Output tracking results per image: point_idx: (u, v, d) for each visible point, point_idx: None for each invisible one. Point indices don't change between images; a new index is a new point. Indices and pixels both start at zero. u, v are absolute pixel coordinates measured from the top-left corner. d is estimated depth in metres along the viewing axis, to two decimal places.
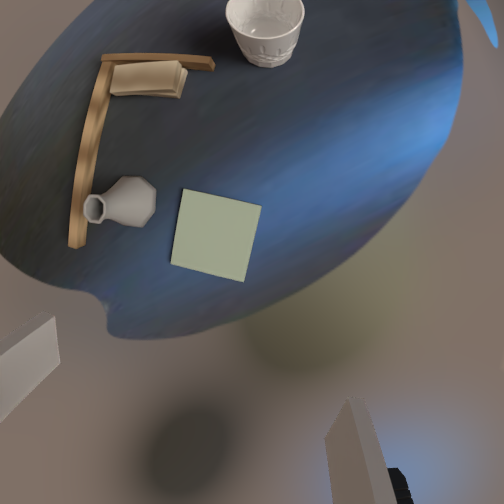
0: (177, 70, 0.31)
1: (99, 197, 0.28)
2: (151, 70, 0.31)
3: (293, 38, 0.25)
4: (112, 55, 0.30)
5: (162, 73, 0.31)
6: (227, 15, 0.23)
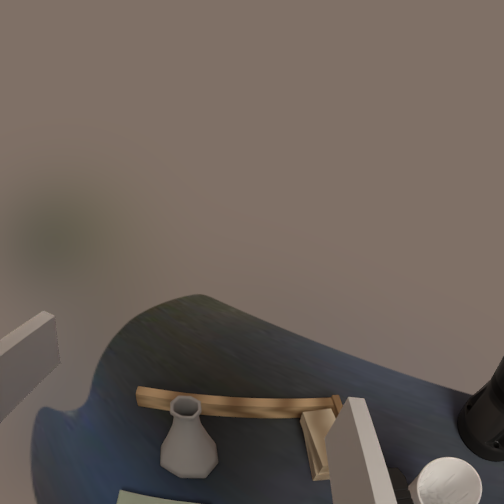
0: None
1: (198, 411, 0.25)
2: None
3: None
4: (340, 403, 0.36)
5: None
6: (427, 465, 0.18)
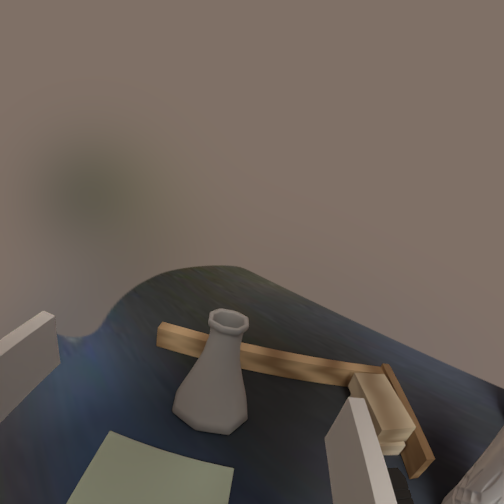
0: (403, 431, 0.21)
1: (245, 325, 0.22)
2: (393, 406, 0.24)
3: None
4: (391, 372, 0.31)
5: (395, 416, 0.22)
6: None
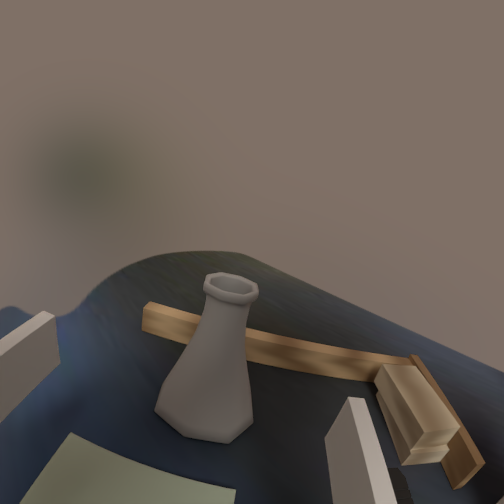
0: (446, 432, 0.15)
1: (254, 292, 0.16)
2: (432, 402, 0.18)
3: None
4: (421, 363, 0.25)
5: (436, 415, 0.17)
6: None
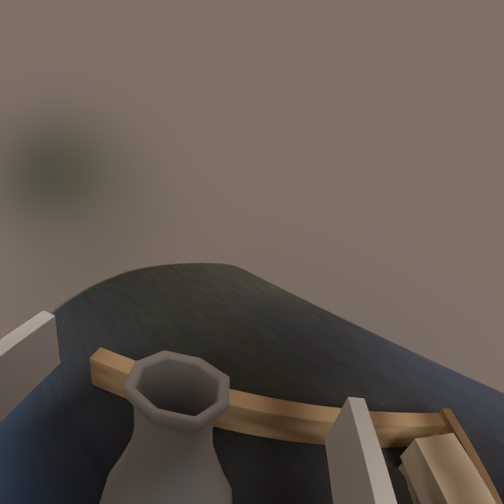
0: None
1: (219, 406, 0.08)
2: (474, 489, 0.09)
3: None
4: (456, 421, 0.16)
5: None
6: None
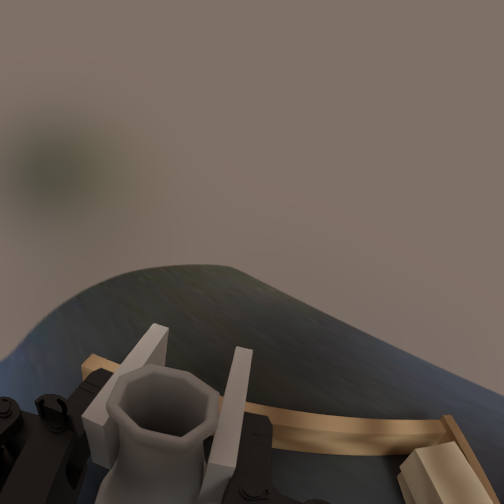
0: None
1: (208, 426, 0.07)
2: (476, 500, 0.08)
3: None
4: (457, 428, 0.16)
5: None
6: None
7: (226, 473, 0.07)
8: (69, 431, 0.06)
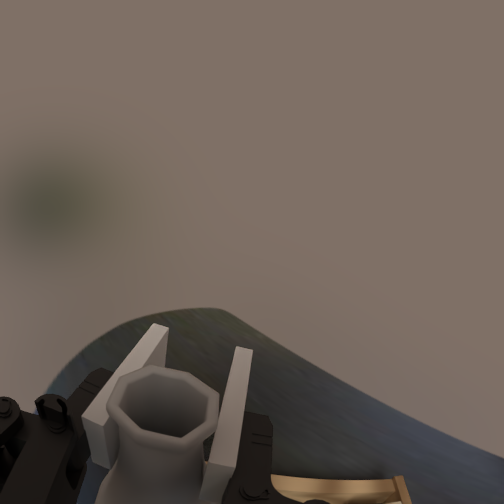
0: None
1: (207, 427, 0.07)
2: None
3: None
4: (404, 489, 0.18)
5: None
6: None
7: (226, 473, 0.07)
8: (69, 431, 0.06)
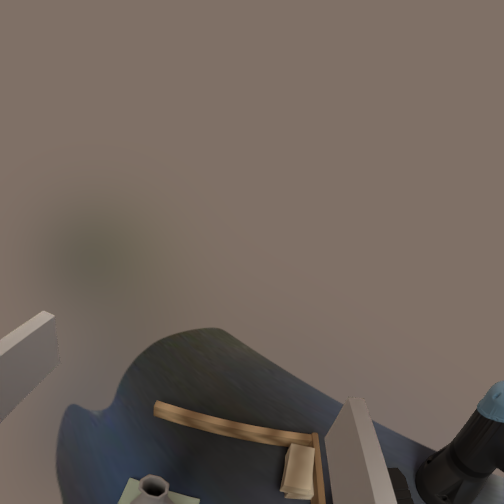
0: (300, 490, 0.31)
1: (165, 494, 0.21)
2: (304, 472, 0.34)
3: None
4: (317, 440, 0.42)
5: (299, 479, 0.33)
6: None
7: None
8: None
